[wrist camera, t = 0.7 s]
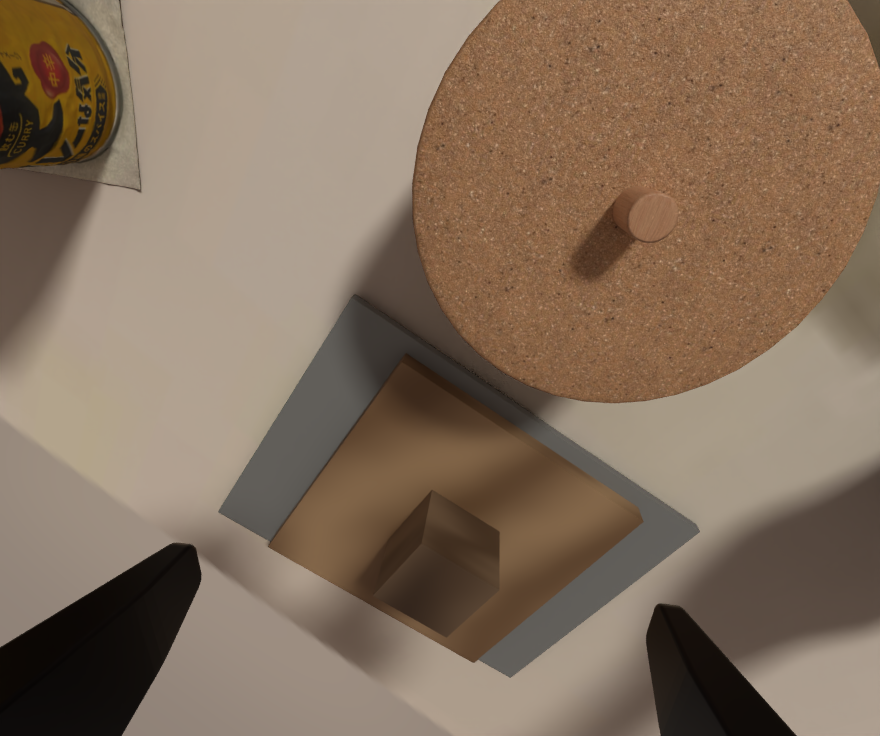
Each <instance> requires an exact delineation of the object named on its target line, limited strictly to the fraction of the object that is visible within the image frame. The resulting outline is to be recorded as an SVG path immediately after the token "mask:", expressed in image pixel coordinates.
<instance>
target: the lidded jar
mask: <svg viewBox="0 0 880 736" xmlns="http://www.w3.org/2000/svg"><path fill="white" fill-rule="evenodd" d="M879 183H880V69H879V66H878V64H877V61H876V58H875V55H874V52H873V49H872V46H871V43H870V40H869V37H868V34H867V33H866V31H865V29H864V28H863V26H862V24H861V23H860V21H859V19H858V18H857V16H856V14H855V12H854V11H853V9H852V7H851V6H850V4H849V2H848V1H847V0H500V1H499V2H498V3H497V4H496V5H495V6H494V7H493V9H492V10H491V11H490V12H489V13H488V14H487V15H486V17H485V18H484V19H483V20H482V21H481V22H480V23H479V25H478V26H477V27H476V28H475V29H474V30H473V32H472V33H471V34H470V35H469V36H468V38H467V39H466V41H465V42H464V44H463V45H462V47H461V48H460V50H459V52H458V53H457V55H456V56H455V58H454V59H453V61H452V62H451V64H450V66H449V67H448V69H447V70H446V72H445V74H444V76H443V78H442V80H441V83H440V85H439V87H438V89H437V91H436V94H435V96H434V98H433V100H432V102H431V105H430V107H429V109H428V112H427V116H426V119H425V123H424V126H423V129H422V133H421V136H420V140H419V143H418V147H417V154H416V161H415V168H414V175H413V182H412V200H413V224H414V230H415V236H416V243H417V249H418V253H419V257H420V260H421V263H422V266H423V269H424V272H425V275H426V278H427V282H428V284H429V286H430V288H431V290H432V292H433V294H434V296H435V298H436V300H437V302H438V304H439V306H440V308H441V310H442V311H443V312H444V314H445V315H446V317H447V318H448V319H449V321H450V322H451V324H452V325H453V327H454V328H455V329H456V331H457V332H458V334H459V335H460V336H461V337H462V338H463V339H464V340H465V341H466V342H467V343H468V344H469V345H470V346H471V347H472V348H473V349H474V350H475V351H476V352H477V353H478V354H479V355H480V356H482V357H483V358H484V359H486V360H487V361H488V362H490V363H491V364H492V365H494V366H495V367H496V368H498V369H499V370H500V371H502V372H503V373H505V374H507V375H509V376H511V377H513V378H514V379H516V380H518V381H520V382H522V383H524V384H526V385H527V386H530V387H533V388H536V389H539V390H541V391H544V392H547V393H550V394H552V395H556V396H560V397H565V398H570V399H575V400H580V401H587V402H603V403H624V402H638V401H647V400H652V399H657V398H662V397H667V396H672V395H677V394H680V393H683V392H686V391H689V390H692V389H695V388H698V387H700V386H703V385H706V384H709V383H711V382H713V381H715V380H717V379H719V378H721V377H723V376H726V375H728V374H730V373H732V372H734V371H736V370H738V369H740V368H741V367H743V366H744V365H746V364H747V363H749V362H750V361H752V360H754V359H755V358H757V357H758V356H760V355H761V354H763V353H764V352H766V351H767V350H769V349H770V348H771V347H772V346H774V345H775V344H776V343H777V342H779V341H780V340H781V339H782V338H783V337H785V336H786V335H787V334H788V333H790V332H791V331H792V330H793V329H794V328H796V327H797V326H798V325H799V324H800V322H801V321H802V320H803V319H804V318H805V317H806V316H807V315H808V314H809V313H810V311H811V310H812V309H813V308H814V307H815V306H816V305H817V304H818V303H819V302H820V301H821V300H822V298H823V297H824V296H825V294H826V293H827V292H828V290H829V289H830V287H831V286H832V285H833V283H834V282H835V281H836V279H837V278H838V277H839V275H840V274H841V272H842V271H843V270H844V268H845V267H846V265H847V263H848V261H849V259H850V257H851V255H852V253H853V251H854V249H855V247H856V245H857V243H858V242H859V240H860V238H861V236H862V234H863V232H864V229H865V227H866V224H867V221H868V219H869V216H870V213H871V211H872V208H873V205H874V202H875V200H876V197H877V193H878V188H879Z"/></svg>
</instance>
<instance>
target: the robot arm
mask: <svg viewBox="0 0 880 736" xmlns="http://www.w3.org/2000/svg"><path fill="white" fill-rule="evenodd" d="M200 582H201V570H200V565H199V560H198V556H197V551H196V548H195V547H194V546H193V545H191V544H184V543H172V544H170V545H168V546H166V547H165V548H163V549H161V550H160V551H158V552H156V553H155V554H153V555H151V556H150V557H148V558H146V559H145V560H143V561H142V562H140V563H138V564H137V565H135V566H133V567H132V568H130V569H129V570H127V571H125V572H123V573H122V574H120V575H118V576H117V577H115V578H114V579H112V580H110V581H109V582H107V583H105V584H104V585H102V586H100V587H99V588H97V589H95V590H94V591H92V592H91V593H89V594H87V595H85V596H84V597H82V598H81V599H79V600H77V601H76V602H74V603H72V604H71V605H69V606H67V607H66V608H64V609H62V610H61V611H59V612H57V613H56V614H54V615H53V616H51V617H50V618H48V619H46V620H44V621H43V622H41V623H39V624H38V625H36V626H34V627H33V628H31V629H30V630H28V631H26V632H25V633H23V634H21V635H20V636H18V637H16V638H15V639H13V640H11V641H10V642H8V643H6V644H5V645H3V646H1V647H0V736H122V734H123V732H124V731H125V729H126V727H127V725H128V724H129V722H130V720H131V719H132V717H133V715H134V713H135V712H136V710H137V708H138V706H139V705H140V703H141V701H142V700H143V698H144V696H145V695H146V693H147V691H148V689H149V688H150V685H151V684H152V682H153V681H154V679H155V677H156V675H157V674H158V672H159V670H160V668H161V666H162V665H163V663H164V661H165V659H166V657H167V655H168V653H169V651H170V648H171V646H172V644H173V642H174V640H175V638H176V635H177V633H178V631H179V629H180V627H181V625H182V623H183V620H184V618H185V616H186V614H187V612H188V610H189V607H190V605H191V603H192V601H193V598H194V597H195V594H196V592H197V590H198V588H199V585H200ZM646 646H647V652H648V659H649V665H650V672H651V678H652V685H653V691H654V697H655V704H656V710H657V717H658V723H659V729H660V734H661V736H796V734H795V733H794V732H793V731H792V730H791V729H790V728H789V727H788V726H787V724H786V723H785V722H784V721H783V720H782V719H781V718H780V717H779V715H778V714H777V713H776V712H775V711H774V710H773V709H772V708H771V706H770V705H769V704H768V703H767V702H766V701H765V700H764V699H763V697H762V696H761V695H760V694H759V693H758V692H757V691H756V690H755V689H754V687H753V686H752V685H751V684H750V683H749V682H748V681H747V680H746V678H745V677H744V676H743V675H742V674H741V673H740V672H739V671H738V669H737V668H736V667H735V666H734V665H733V664H732V663H731V662H730V660H729V659H728V658H727V657H726V656H725V655H724V654H723V653H722V651H721V650H720V649H719V648H718V647H717V646H716V645H715V644H714V643H713V641H712V640H711V639H710V638H709V637H708V636H707V635H706V634H705V632H704V631H703V630H702V629H701V628H700V627H699V626H698V625H697V623H696V622H695V621H694V620H693V619H692V618H691V617H690V616H689V614H688V613H687V612H686V611H685V610H684V609H683V608H681V607H680V606H677V605H669V604H658V605H656V607H655V609H654V612H653V615H652V618H651V621H650V624H649V628H648V631H647V635H646Z"/></svg>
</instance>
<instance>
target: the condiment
mask: <svg viewBox="0 0 880 736" xmlns="http://www.w3.org/2000/svg"><path fill="white" fill-rule="evenodd" d="M3 168H16V169H23V170H29V171H35V172H42V173H48V174H55V175H61V176H66V177H72V178H78V179H84V180H89V181H96V182H102V183H107V184H112V185H119V186H125V187H130V188H135V189H139V190H140V178H139V169H138V154H137V148H136V132H135V121H134V112H133V101H132V92H131V86H130V76H129V70H128V59H127V51H126V44H125V39H124V30H123V28H122V23H121V11H120V3H119V0H0V169H3Z"/></svg>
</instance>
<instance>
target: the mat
mask: <svg viewBox="0 0 880 736" xmlns="http://www.w3.org/2000/svg"><path fill="white" fill-rule="evenodd" d="M405 353H407V354H408V355H410V356H411V357H413V358H414V359H416V360H417V361H419V362H420V363H422V364H423V365H425V366H426V367H428V368H429V369H431V370H432V371H434V372H435V373H437V374H438V375H440V376H441V377H443V378H444V379H446V380H447V381H449V382H450V383H452V384H453V385H455V386H456V387H458V388H459V389H461V390H462V391H464V392H465V393H467V394H468V395H470V396H471V397H473V398H474V399H476V400H477V401H479V402H480V403H482V404H484V405H485V406H487V407H488V408H490V409H491V410H493V411H494V412H496V413H497V414H499V415H500V416H502V417H503V418H505V419H506V420H508V421H509V422H511V423H512V424H514V425H515V426H517V427H518V428H520V429H521V430H523V431H524V432H526V433H527V434H529V435H530V436H532V437H533V438H535V439H536V440H538V441H539V442H541V443H542V444H544V445H545V446H547V447H548V448H550V449H551V450H553V451H554V452H556V453H557V454H559V455H560V456H562V457H563V458H565V459H566V460H568V461H569V462H571V463H572V464H574V465H575V466H577V467H578V468H580V469H581V470H583V471H584V472H586V473H587V474H589V475H590V476H592V477H593V478H595V479H596V480H598V481H599V482H601V483H602V484H604V485H605V486H607V487H608V488H610V489H611V490H613V491H614V492H616V493H617V494H619V495H620V496H622V497H623V498H625V499H626V500H628V501H629V502H631V503H632V504H634V505H635V506H637V507H638V508H639V511H640V513H641V516H642V519H643V521H644V522H643V523H642V524H640V525H639V526H638V527H637V528H636V529H634V530H633V531H632V532H631V533H630V534H628V535H627V536H626V537H625V538H624V539H622V540H621V541H620V542H619V543H618V544H616V545H615V546H614V547H613V548H612V549H610V550H609V551H608V552H607V553H605V554H604V555H603V556H602V557H601V558H599V559H598V560H597V561H596V562H595V563H593V564H592V565H591V566H590V567H589V568H587V569H586V570H585V571H584V572H583V573H581V574H580V575H579V576H578V577H577V578H575V579H574V580H573V581H572V582H571V583H569V584H568V585H567V586H566V587H564V588H563V589H562V590H561V591H560V592H558V593H557V594H556V595H555V596H554V597H552V598H551V599H550V600H549V601H548V602H546V603H545V604H544V605H543V606H542V607H540V608H539V609H538V610H537V611H536V612H534V613H533V614H532V615H531V616H530V617H528V618H527V619H526V620H525V621H523V622H522V623H521V624H520V625H519V626H517V627H516V628H515V629H514V630H513V631H511V632H510V633H509V634H508V635H507V636H505V637H504V638H503V639H502V640H501V641H499V642H498V643H497V644H496V645H495V646H493V647H492V648H491V649H490V650H489V651H487V652H486V653H485V654H484V655H482V656H481V657H480V658H479V659H478V660H480V661H482V662H483V663H485V664H487V665H489V666H490V667H492V668H494V669H496V670H498V671H499V672H501V673H503V674H505V675H506V676H508V677H510V678H511V677H512V676H513V675H515V674H516V673H517V672H519V671H520V670H521V669H522V668H524V667H525V666H526V665H528V664H529V663H530V662H532V661H533V660H534V659H535V658H537V657H538V656H539V655H541V654H542V653H543V652H545V651H546V650H547V649H548V648H550V647H551V646H552V645H554V644H555V643H556V642H558V641H559V640H560V639H561V638H563V637H564V636H565V635H567V634H568V633H569V632H571V631H572V630H573V629H574V628H576V627H577V626H578V625H580V624H581V623H582V622H584V621H585V620H586V619H587V618H589V617H590V616H591V615H593V614H594V613H595V612H596V611H598V610H599V609H600V608H602V607H603V606H604V605H606V604H607V603H608V602H609V601H611V600H612V599H613V598H615V597H616V596H617V595H619V594H620V593H621V592H622V591H624V590H625V589H626V588H628V587H629V586H630V585H632V584H633V583H634V582H635V581H637V580H638V579H639V578H641V577H642V576H643V575H645V574H646V573H647V572H648V571H650V570H651V569H652V568H654V567H655V566H656V565H658V564H659V563H660V562H661V561H663V560H664V559H665V558H667V557H668V556H669V555H671V554H672V553H673V552H674V551H676V550H677V549H678V548H680V547H681V546H682V545H684V544H685V543H686V542H687V541H689V540H690V539H691V538H693V537H694V536H695V535H697V534H698V533H699V532H700V531H699V529H698V527H697V525H696V524H695V523H693V522H692V521H690V520H689V519H687V518H686V517H684V516H683V515H681V514H680V513H678V512H677V511H675V510H674V509H672V508H671V507H670V506H668V505H667V504H665V503H664V502H662V501H661V500H659V499H658V498H656V497H655V496H653V495H652V494H650V493H649V492H647V491H646V490H644V489H643V488H641V487H640V486H638V485H637V484H635V483H634V482H632V481H631V480H629V479H628V478H627V477H625V476H624V475H622V474H621V473H619V472H618V471H616V470H615V469H613V468H612V467H610V466H609V465H607V464H606V463H604V462H603V461H601V460H600V459H598V458H597V457H595V456H594V455H592V454H591V453H589V452H588V451H586V450H585V449H584V448H582V447H581V446H579V445H578V444H576V443H575V442H573V441H572V440H570V439H569V438H567V437H566V436H564V435H563V434H561V433H560V432H558V431H557V430H555V429H554V428H552V427H551V426H549V425H548V424H546V423H545V422H543V421H542V420H541V419H539V418H538V417H536V416H535V415H533V414H532V413H530V412H529V411H527V410H526V409H524V408H523V407H521V406H520V405H518V404H517V403H515V402H514V401H512V400H511V399H509V398H508V397H506V396H505V395H503V394H502V393H500V392H499V391H498V390H496V389H495V388H493V387H492V386H490V385H489V384H487V383H486V382H484V381H483V380H481V379H480V378H478V377H477V376H475V375H474V374H472V373H471V372H469V371H468V370H466V369H465V368H463V367H462V366H460V365H459V364H457V363H456V362H455V361H453V360H452V359H450V358H449V357H447V356H446V355H444V354H443V353H441V352H440V351H438V350H437V349H435V348H434V347H432V346H431V345H429V344H428V343H426V342H425V341H423V340H422V339H420V338H419V337H417V336H416V335H414V334H413V333H411V332H410V331H409V330H407V329H406V328H404V327H403V326H401V325H400V324H398V323H397V322H395V321H394V320H392V319H391V318H389V317H388V316H386V315H385V314H383V313H382V312H380V311H379V310H377V309H376V308H374V307H373V306H371V305H370V304H368V303H367V302H366V301H364V300H363V299H361V298H360V297H358V296H357V295H354V296H353V297H352V298H351V300H350V301H349V303H348V304H347V306H346V308H345V309H344V311H343V312H342V314H341V316H340V317H339V319H338V320H337V322H336V324H335V325H334V327H333V328H332V330H331V332H330V333H329V335H328V336H327V338H326V340H325V341H324V343H323V344H322V346H321V348H320V349H319V351H318V352H317V354H316V356H315V357H314V359H313V360H312V362H311V364H310V365H309V367H308V368H307V370H306V372H305V373H304V375H303V376H302V378H301V380H300V381H299V383H298V384H297V386H296V388H295V389H294V391H293V393H292V394H291V396H290V397H289V399H288V401H287V402H286V404H285V405H284V407H283V409H282V410H281V412H280V413H279V415H278V417H277V418H276V420H275V421H274V423H273V425H272V426H271V428H270V429H269V431H268V433H267V434H266V436H265V437H264V439H263V441H262V442H261V444H260V445H259V447H258V449H257V450H256V452H255V453H254V455H253V457H252V458H251V460H250V461H249V463H248V465H247V466H246V468H245V469H244V471H243V473H242V474H241V476H240V477H239V479H238V481H237V482H236V484H235V486H234V487H233V489H232V490H231V492H230V494H229V495H228V497H227V498H226V500H225V502H224V503H223V505H222V506H221V508H220V510H219V511H218V512H219V513H221V514H222V515H224V516H226V517H228V518H229V519H231V520H233V521H235V522H237V523H238V524H240V525H242V526H244V527H245V528H247V529H249V530H251V531H252V532H254V533H256V534H258V535H259V536H261V537H263V538H265V539H267V540H268V541H270V542H271V541H272V539H273V537H274V535H275V534H276V532H277V531H278V529H279V528H280V527H281V525H282V524H283V523H284V521H285V520H286V518H287V517H288V516H289V514H290V513H291V511H292V510H293V509H294V507H295V506H296V505H297V503H298V502H299V500H300V499H301V498H302V496H303V495H304V493H305V492H306V491H307V489H308V488H309V486H310V485H311V484H312V482H313V481H314V480H315V478H316V477H317V475H318V474H319V473H320V471H321V470H322V468H323V467H324V466H325V464H326V463H327V462H328V460H329V459H330V457H331V456H332V455H333V453H334V452H335V450H336V449H337V448H338V446H339V445H340V443H341V442H342V441H343V439H344V438H345V437H346V435H347V434H348V432H349V431H350V430H351V428H352V427H353V425H354V424H355V423H356V421H357V420H358V419H359V417H360V416H361V414H362V413H363V412H364V410H365V409H366V407H367V406H368V405H369V403H370V402H371V400H372V399H373V398H374V396H375V395H376V394H377V392H378V391H379V389H380V388H381V387H382V385H383V384H384V382H385V381H386V380H387V378H388V377H389V376H390V374H391V373H392V371H393V370H394V369H395V367H396V366H397V364H398V363H399V362H400V360H401V359H402V357H403V356H404V355H405Z"/></svg>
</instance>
